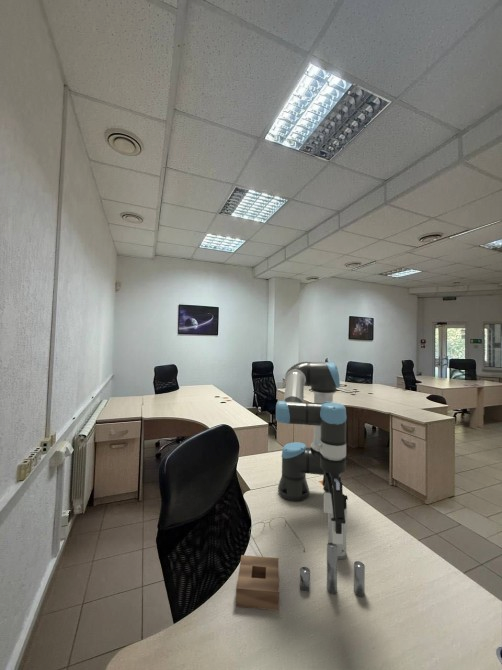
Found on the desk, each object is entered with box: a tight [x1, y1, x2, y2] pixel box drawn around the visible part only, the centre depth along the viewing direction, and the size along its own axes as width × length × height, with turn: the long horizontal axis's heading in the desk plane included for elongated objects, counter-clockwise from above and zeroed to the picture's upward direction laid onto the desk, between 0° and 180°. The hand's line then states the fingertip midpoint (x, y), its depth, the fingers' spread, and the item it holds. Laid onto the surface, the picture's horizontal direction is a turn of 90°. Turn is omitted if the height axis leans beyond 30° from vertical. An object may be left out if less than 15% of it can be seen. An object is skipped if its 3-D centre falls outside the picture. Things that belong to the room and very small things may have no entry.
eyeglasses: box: [248, 516, 306, 557], centre depth 101 cm, size 16×15×5 cm
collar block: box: [235, 554, 280, 611], centre depth 83 cm, size 12×12×5 cm
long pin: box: [326, 542, 338, 595], centre depth 83 cm, size 3×3×13 cm
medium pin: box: [353, 560, 366, 598], centre depth 82 cm, size 3×3×8 cm
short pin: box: [299, 566, 311, 593], centre depth 84 cm, size 3×3×5 cm
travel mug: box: [327, 493, 349, 560], centre depth 98 cm, size 6×7×20 cm
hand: (332, 526), depth 83 cm, fingers open, 13 cm apart
